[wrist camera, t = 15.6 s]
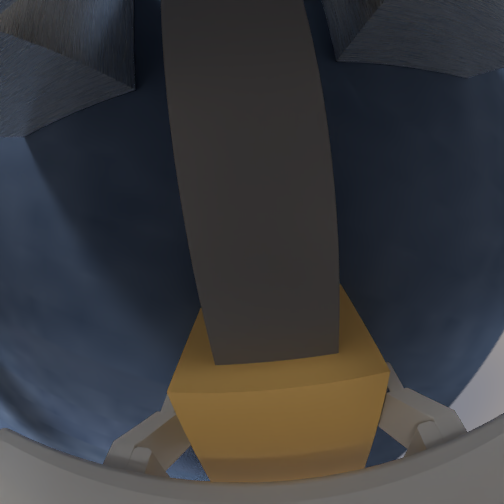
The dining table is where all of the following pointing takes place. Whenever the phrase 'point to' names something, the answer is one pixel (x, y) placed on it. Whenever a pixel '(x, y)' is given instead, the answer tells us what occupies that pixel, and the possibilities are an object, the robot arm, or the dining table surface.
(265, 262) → the grey and tan bar
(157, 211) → the dining table surface
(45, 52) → the grey bridge block
